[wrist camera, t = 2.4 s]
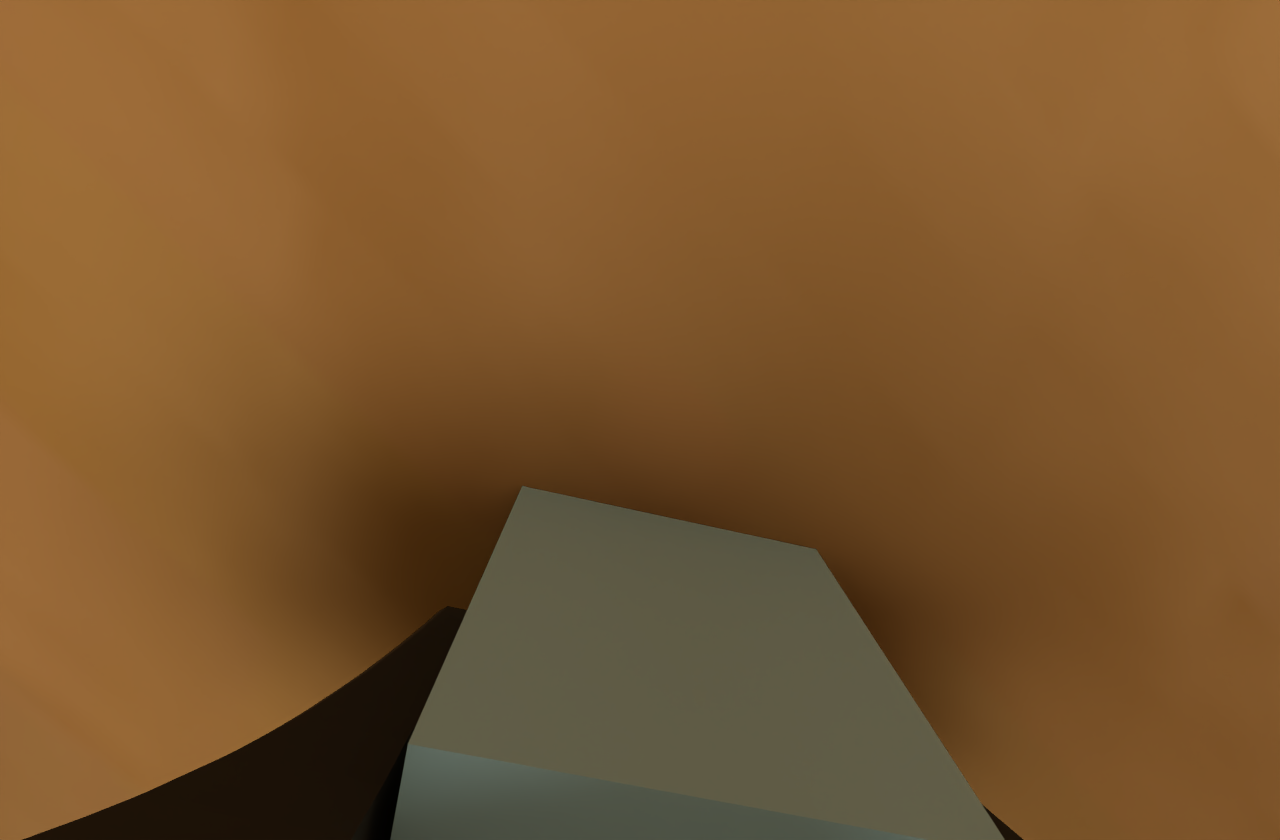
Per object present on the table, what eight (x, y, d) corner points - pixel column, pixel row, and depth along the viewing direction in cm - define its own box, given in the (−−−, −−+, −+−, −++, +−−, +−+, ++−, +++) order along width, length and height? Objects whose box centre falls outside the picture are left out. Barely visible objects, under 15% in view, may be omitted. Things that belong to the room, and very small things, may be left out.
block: (815, 548, 11) (1015, 855, 6) (737, 792, 13) (835, 1260, 7) (522, 484, 11) (408, 743, 5) (469, 742, 12) (325, 1194, 6)
